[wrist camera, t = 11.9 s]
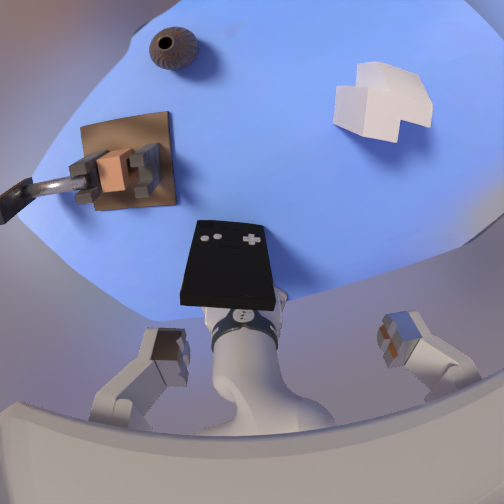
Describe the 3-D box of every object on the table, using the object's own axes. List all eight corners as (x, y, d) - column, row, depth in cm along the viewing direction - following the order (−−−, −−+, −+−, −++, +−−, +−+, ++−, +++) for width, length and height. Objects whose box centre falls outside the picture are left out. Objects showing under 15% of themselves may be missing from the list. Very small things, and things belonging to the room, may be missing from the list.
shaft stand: (176, 202, 47) (164, 227, 40) (97, 208, 47) (75, 233, 39) (168, 111, 39) (151, 117, 31) (82, 126, 38) (53, 137, 30)
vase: (148, 58, 34) (129, 52, 26) (175, 25, 31) (162, 11, 24) (182, 79, 36) (169, 76, 29) (210, 45, 34) (203, 35, 26)
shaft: (94, 188, 39) (63, 216, 30) (29, 199, 38) (-2, 225, 30) (89, 164, 37) (56, 187, 28) (24, 178, 36) (-10, 202, 28)
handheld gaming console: (264, 222, 51) (278, 297, 34) (260, 243, 53) (272, 323, 36) (196, 216, 49) (178, 290, 32) (196, 238, 52) (179, 317, 35)
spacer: (136, 178, 44) (124, 189, 39) (115, 181, 43) (102, 192, 39) (131, 148, 41) (119, 156, 36) (110, 151, 40) (96, 160, 36)
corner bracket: (333, 123, 41) (362, 136, 31) (338, 59, 35) (370, 53, 25) (387, 133, 42) (426, 149, 32) (394, 74, 36) (436, 75, 26)
